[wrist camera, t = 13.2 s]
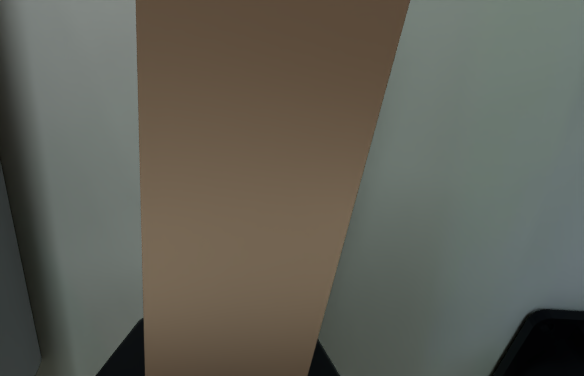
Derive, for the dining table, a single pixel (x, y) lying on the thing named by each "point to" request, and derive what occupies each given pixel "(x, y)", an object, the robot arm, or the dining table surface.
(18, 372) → the platform
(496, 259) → the dining table surface
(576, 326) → the robot arm
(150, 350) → the scraper bar
